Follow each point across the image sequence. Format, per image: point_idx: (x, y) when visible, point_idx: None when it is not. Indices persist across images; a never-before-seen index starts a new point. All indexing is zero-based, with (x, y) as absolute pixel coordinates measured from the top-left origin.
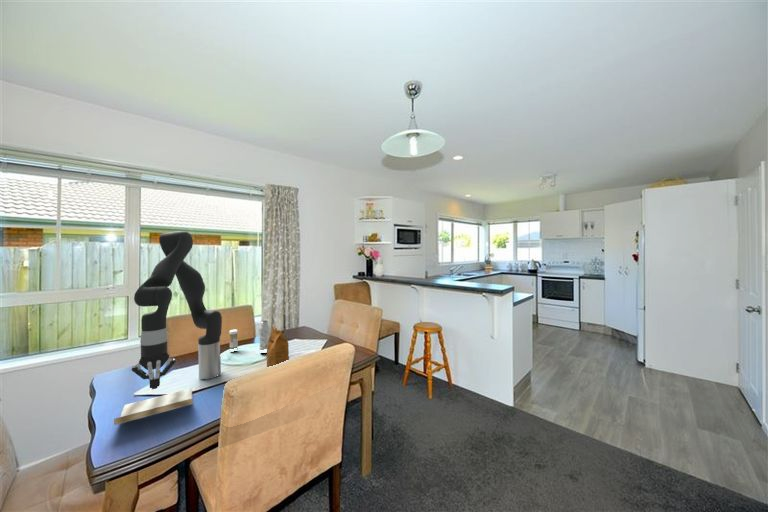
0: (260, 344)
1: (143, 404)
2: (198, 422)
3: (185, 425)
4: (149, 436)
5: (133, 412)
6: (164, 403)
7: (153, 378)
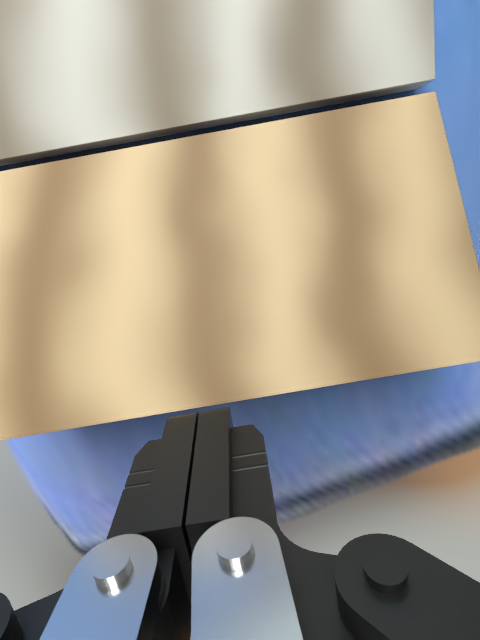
0: None
1: None
2: (446, 391)
3: (382, 392)
4: None
5: (22, 129)
6: (222, 68)
7: (185, 626)
